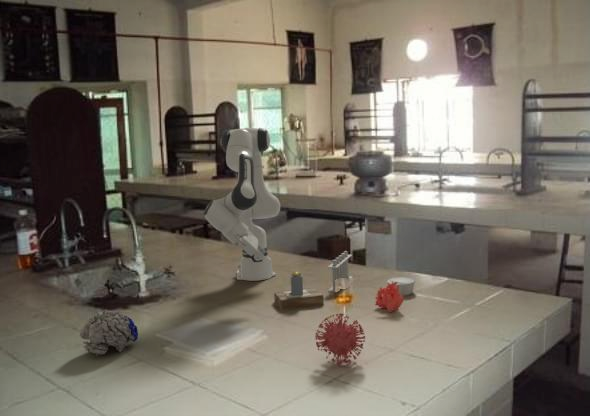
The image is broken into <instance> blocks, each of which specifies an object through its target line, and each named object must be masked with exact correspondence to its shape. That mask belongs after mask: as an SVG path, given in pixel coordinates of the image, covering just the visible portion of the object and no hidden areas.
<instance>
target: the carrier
mask: <svg viewBox="0 0 590 416" xmlns="http://www.w3.org/2000/svg"><path fill="white" fill-rule="evenodd" d="M289 275H290V288H291V289H290V291H291V294H292V296H294V295H303V289H304V288H303V287H304V286H303V273H300V277H293V273H290V274H289Z"/></svg>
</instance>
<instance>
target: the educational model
mask: <svg viewBox="0 0 590 416" xmlns="http://www.w3.org/2000/svg"><path fill="white" fill-rule="evenodd" d="M79 331H80V332H79V337H80V338H82V339H83V340H86V341H82V344H84V345H83V346H82V347H83V348H84V350H85V351H87V352H90V353H93V354H95V355H96V356H97V357H98V356H99V355H105V353H107V351H109V346H113V347H114V348H115V349H116V351H118V352H119V353H122V351H124V350H125V349H126V347H128V343H134V342H136V341H137V340H138V339H139V332H138V331H139V330H138V326H137V325H136V324H135V323H134V321H133V319H132V318H130V317H129V316H128V315H125V314H123V313H121V312H119V311H114V310H107V309H103V311H98V312H96V314H95V315H94V316H91V317H90V318H89V319H88V320H87V322H86V324H84V326H83V327H82V328H81V329H80V330H79ZM88 340H89V341H88Z"/></svg>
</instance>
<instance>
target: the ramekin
mask: <svg viewBox="0 0 590 416" xmlns="http://www.w3.org/2000/svg"><path fill="white" fill-rule="evenodd" d="M392 282H393V283H395V282H398V283H397V284H396V285H394V286H395V288H397V285H399V291H398V293H399V294H400V295H402V297H405V296H409V295H411V294H413V292H414V286H415V280H414V278H411V277H402V276H401V277H399V276H398V277H391V278H389V279H387V281H386V284H387V285H388V284H392ZM389 289H390V288H389Z"/></svg>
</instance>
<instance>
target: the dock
mask: <svg viewBox="0 0 590 416" xmlns="http://www.w3.org/2000/svg"><path fill="white" fill-rule="evenodd" d="M273 293H274V294H273V296H274V303H275V304H276V306H277V307H278V308H279V309H280V310H282V311H288V310H295V309H302V308H309V307H317V306H324V304H325V303H324V294H322V293H321V292H320V291H319V290H317V288H315V287H310V288H309V287H308V288H303V295H294V296H292V294H291V290H283V291H277V292H276V291H275V292H273Z"/></svg>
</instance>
